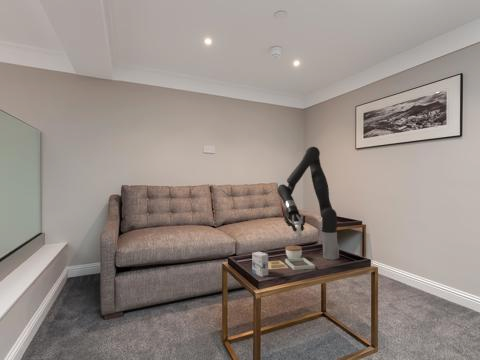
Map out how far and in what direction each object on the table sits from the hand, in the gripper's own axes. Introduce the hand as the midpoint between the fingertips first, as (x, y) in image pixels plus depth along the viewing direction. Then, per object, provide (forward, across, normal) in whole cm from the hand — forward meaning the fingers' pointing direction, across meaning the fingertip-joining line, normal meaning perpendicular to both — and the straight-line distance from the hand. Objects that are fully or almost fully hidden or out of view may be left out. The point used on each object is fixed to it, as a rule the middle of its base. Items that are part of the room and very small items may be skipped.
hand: (299, 230), depth 148 cm
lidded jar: (+3, +2, +28) cm, 28 cm away
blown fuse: (+1, 0, +4) cm, 4 cm away
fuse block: (+12, -14, +18) cm, 26 cm away
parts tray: (+14, 0, +17) cm, 22 cm away
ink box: (+21, -26, +10) cm, 35 cm away
